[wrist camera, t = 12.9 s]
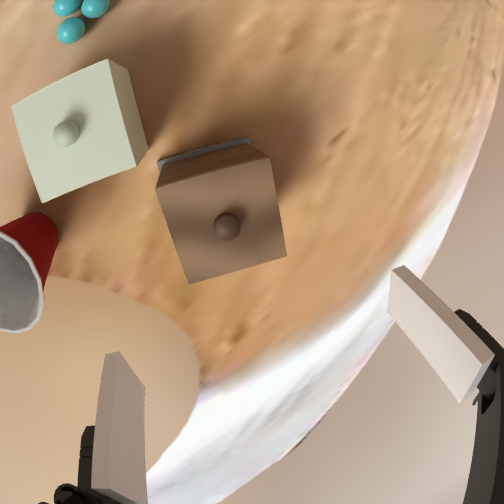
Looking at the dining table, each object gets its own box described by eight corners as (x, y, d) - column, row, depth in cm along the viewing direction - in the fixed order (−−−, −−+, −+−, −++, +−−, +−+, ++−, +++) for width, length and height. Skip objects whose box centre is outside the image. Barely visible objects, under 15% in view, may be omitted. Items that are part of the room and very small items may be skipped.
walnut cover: (162, 165, 30) (154, 192, 21) (246, 142, 31) (273, 160, 22) (186, 240, 34) (189, 290, 26) (262, 218, 35) (290, 261, 26)
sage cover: (52, 102, 24) (5, 106, 15) (128, 70, 25) (104, 56, 16) (74, 176, 28) (37, 207, 20) (149, 149, 29) (134, 169, 21)
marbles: (58, 3, 18) (48, -4, 16) (108, -19, 19) (102, -29, 16) (87, 142, 27) (79, 146, 24) (139, 123, 28) (135, 125, 25)
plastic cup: (84, 202, 30) (44, 252, 20) (72, 281, 34) (44, 346, 23) (8, 180, 26) (-50, 219, 16) (4, 258, 30) (-38, 314, 20)
